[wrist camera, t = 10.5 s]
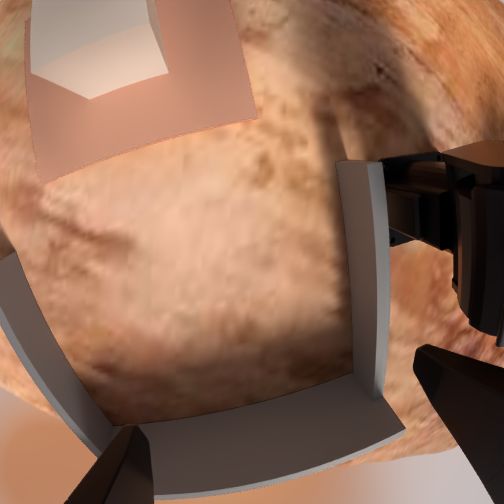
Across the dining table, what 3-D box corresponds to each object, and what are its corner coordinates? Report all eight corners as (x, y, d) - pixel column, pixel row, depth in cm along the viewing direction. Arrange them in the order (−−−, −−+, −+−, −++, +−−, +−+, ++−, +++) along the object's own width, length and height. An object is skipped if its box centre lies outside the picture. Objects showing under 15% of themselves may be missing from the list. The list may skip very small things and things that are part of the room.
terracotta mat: (216, -40, 12) (216, -45, 11) (256, 119, 16) (258, 117, 16) (29, 23, 11) (25, 21, 10) (45, 183, 15) (41, 184, 15)
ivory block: (156, 8, 12) (138, -56, 6) (168, 72, 14) (149, 22, 7) (81, 34, 12) (33, -12, 5) (89, 99, 14) (30, 73, 7)
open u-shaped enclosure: (348, 159, 18) (430, 167, 10) (362, 375, 24) (404, 435, 17) (7, 254, 16) (-59, 301, 8) (109, 432, 22) (97, 497, 15)
